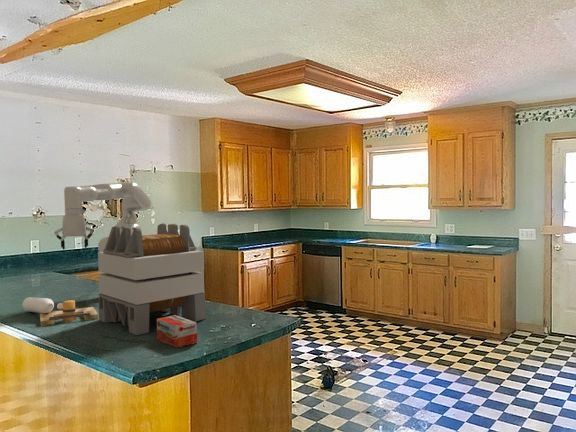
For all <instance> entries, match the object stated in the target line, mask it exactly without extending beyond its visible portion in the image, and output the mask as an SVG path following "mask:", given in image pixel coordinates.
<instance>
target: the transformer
mask: <svg viewBox="0 0 576 432" xmlns="http://www.w3.org/2000/svg"><path fill="white" fill-rule="evenodd" d="M121 228H123V229H122V232H121V235H120V227H119V226H111V229H110V232H109V234H108V236H107V237H108V240H107V243H106V246H105V249H104V250H103V252H99V251H98V252H97V261H98V262H97V263H98V264H97V265H98V272H100V274H98V321H99V322H103V323H111V322H112V323H113V322H114V323H117V322H119V323H120V322H121V324H122V326H123V327H124V326H128V332H129V334H133V335H135V336H140V335H143V334H147V333H149V332H150V313H153V312H154V313H155V312H158V311H161V312H163V313H167V312H169V314H171V315H172V316H174V315H176V316H180V314H181V317H182V318H185V319H188V320H191V321H194V322H199V321H203V320H206V319H207V313H206V311H207V310H206V293H205V282H204V273H203V272H201V271H204V270H205V252H204V250H197V249H198V248H197V246H196V245H195V243H194V240H193V239H192V237H191V234H190V228H189V226H188V225H186V224H180V225H179V226H178V224H176V223H169V224H168V225H167V224H166V223H164V222H162V223H160V224H158V225H157V227H156V228H157V229H156V232H157V233H156V234H147V235H146V234H143V233H142V232H141V231H142V229H141V230H140V229H138V228H132V229H134V231H133V233H132V235H131V228H128V227H121ZM101 272H104V273H105V274H101Z"/></svg>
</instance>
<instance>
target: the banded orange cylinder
mask: <svg viewBox="0 0 576 432" xmlns="http://www.w3.org/2000/svg"><path fill="white" fill-rule="evenodd" d="M62 304H63V308H62V310H63V315H71V314H75V310H76V309H77V308H76V301H75V300H74V299H73V300H71V299H70V300H65V301H64V300H63V301H62ZM76 318H77V317H75V316H74V317H66V318H62V319H63V322H74V321H76Z"/></svg>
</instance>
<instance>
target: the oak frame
mask: <svg viewBox="0 0 576 432" xmlns="http://www.w3.org/2000/svg"><path fill="white" fill-rule="evenodd" d="M75 309H76V310H75V314H71V315H63V309H61V310H52V311H51V312H49V313H39V321H40V327H44V326H45V327H46V326H52V325H55V320H59V319H60V320H61V319H63V318H66V317H74V316H75V317H76V318H77V317H83V318H84V320H85V321H92V320H99V312H98V311H97V310H96V308H95V307H94V306H90V307H89V306H88V307H80V308H75Z"/></svg>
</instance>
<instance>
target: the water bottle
mask: <svg viewBox="0 0 576 432" xmlns="http://www.w3.org/2000/svg"><path fill="white" fill-rule="evenodd" d="M21 306H22V309H23V310H24V311H26V312H32V313H39V314H40V313H49V312H53V311H54V310H53V309H54V307H55V303H54V301H53V300H52V299H51V298H47V297H46V298H45V297H34V296H32V297H31V296H28V297H26V298H25V299H24V300H23V302H22V305H21ZM56 307H57V309H58V310H63V302H62V303H61V302H60V303H58V304H57V305H56Z"/></svg>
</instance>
